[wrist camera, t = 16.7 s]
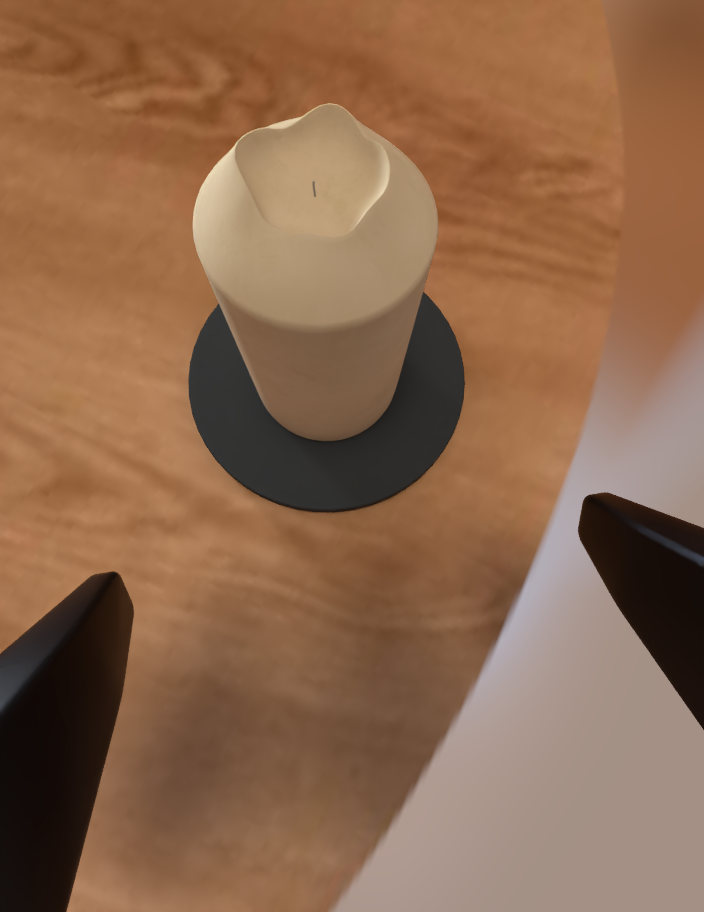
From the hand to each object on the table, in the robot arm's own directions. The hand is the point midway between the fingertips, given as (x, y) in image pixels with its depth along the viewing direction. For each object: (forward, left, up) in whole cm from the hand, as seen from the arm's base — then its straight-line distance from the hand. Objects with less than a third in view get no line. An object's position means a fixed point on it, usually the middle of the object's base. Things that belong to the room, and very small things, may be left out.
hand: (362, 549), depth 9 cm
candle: (+4, -6, -8) cm, 11 cm away
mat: (+4, -6, -9) cm, 12 cm away
